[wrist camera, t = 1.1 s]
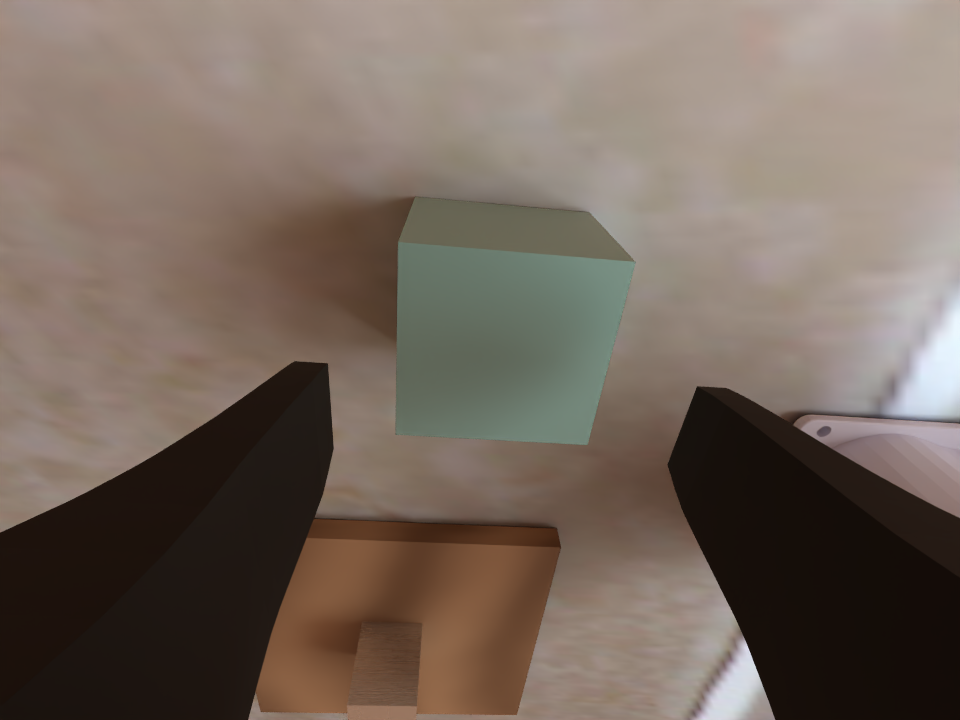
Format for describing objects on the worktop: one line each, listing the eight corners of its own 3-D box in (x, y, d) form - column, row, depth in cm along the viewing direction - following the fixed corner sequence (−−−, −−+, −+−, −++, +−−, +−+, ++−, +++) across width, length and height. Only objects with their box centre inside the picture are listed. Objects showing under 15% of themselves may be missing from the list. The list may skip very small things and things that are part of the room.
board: (556, 528, 22) (560, 547, 21) (515, 695, 29) (516, 714, 28) (227, 515, 21) (217, 534, 20) (267, 691, 27) (261, 712, 27)
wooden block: (422, 623, 23) (416, 706, 20) (420, 656, 24) (414, 738, 21) (362, 621, 23) (346, 705, 20) (363, 655, 24) (349, 738, 21)
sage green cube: (589, 212, 15) (635, 262, 11) (559, 361, 17) (587, 444, 13) (415, 196, 14) (397, 241, 10) (410, 351, 17) (395, 434, 13)
